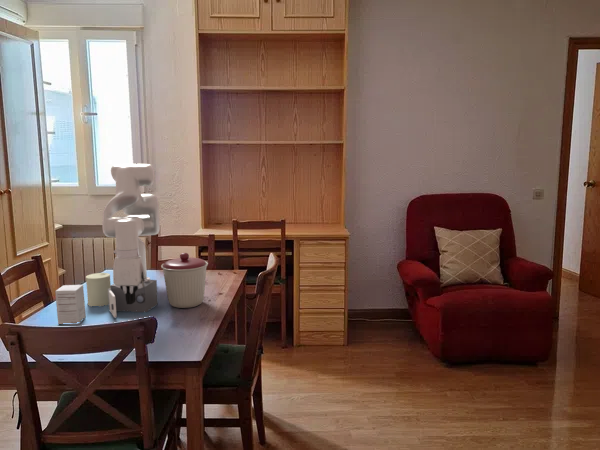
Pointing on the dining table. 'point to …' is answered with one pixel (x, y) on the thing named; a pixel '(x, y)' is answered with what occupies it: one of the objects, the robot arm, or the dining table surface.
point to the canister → (185, 281)
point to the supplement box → (70, 304)
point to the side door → (112, 303)
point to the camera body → (137, 297)
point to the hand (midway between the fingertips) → (130, 303)
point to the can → (98, 289)
